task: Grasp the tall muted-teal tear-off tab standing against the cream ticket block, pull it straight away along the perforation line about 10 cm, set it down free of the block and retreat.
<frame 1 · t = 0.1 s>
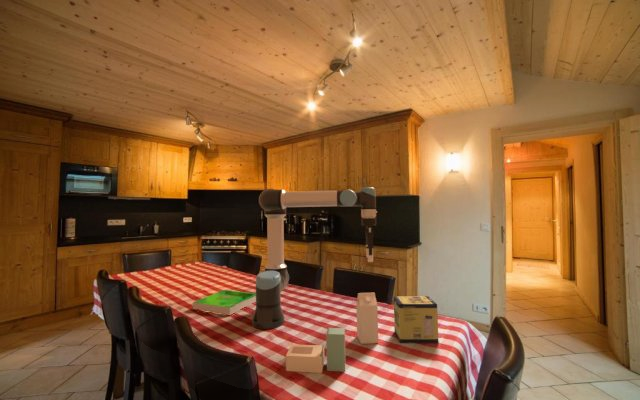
hand: (369, 259, 143), 28 cm above the table, fingers open, 13 cm apart
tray: (227, 307, 160), on the table
milk carton: (367, 340, 115), on the table
protein box: (415, 337, 117), on the table
ticket block: (305, 365, 97), on the table
stub: (336, 366, 96), on the table
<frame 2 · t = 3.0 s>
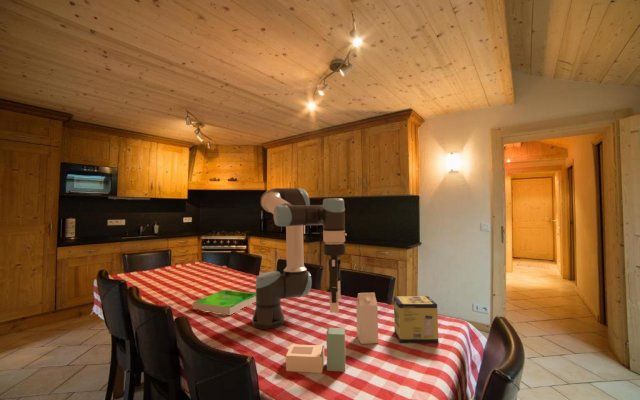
hand: (335, 305, 96), 21 cm above the table, fingers open, 13 cm apart
nothing on the table moved.
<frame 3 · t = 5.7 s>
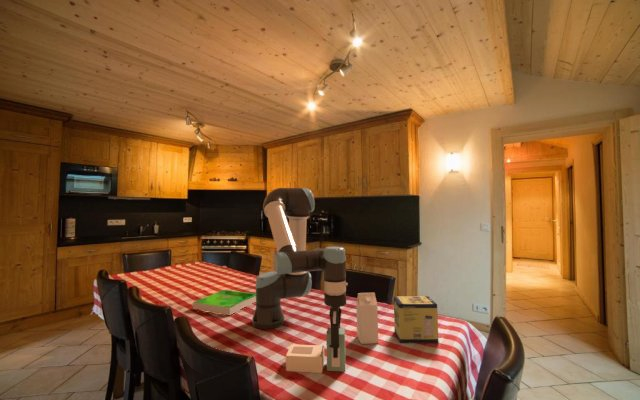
hand: (336, 361, 96), 2 cm above the table, fingers closed on stub, 5 cm apart
stub: (336, 366, 96), on the table, touching gripper
everything else where it was.
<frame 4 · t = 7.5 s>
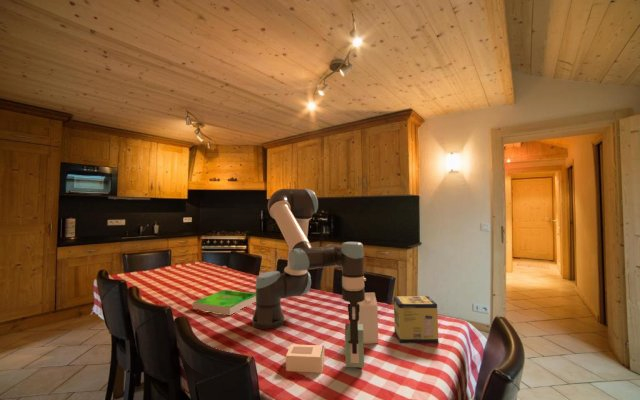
hand: (354, 357, 95), 3 cm above the table, fingers closed on stub, 5 cm apart
stub: (354, 362, 95), point 2 cm above the table, touching gripper
everything else where it was.
when the fingers open (2 cm above the table, at t = 9.5 s): stub stays where it is, on the table.
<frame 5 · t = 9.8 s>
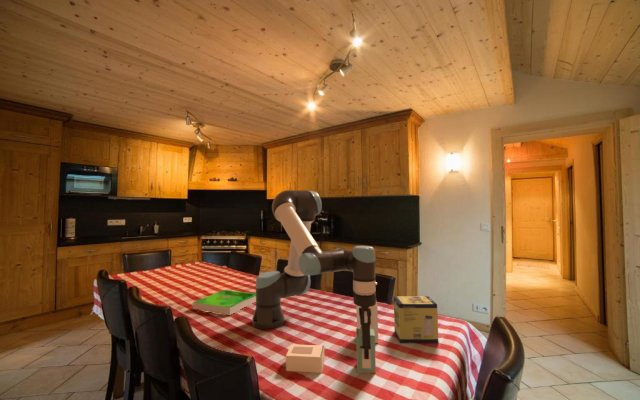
hand: (365, 360, 95), 3 cm above the table, fingers open, 8 cm apart
stub: (366, 368, 94), on the table
everything else where it was.
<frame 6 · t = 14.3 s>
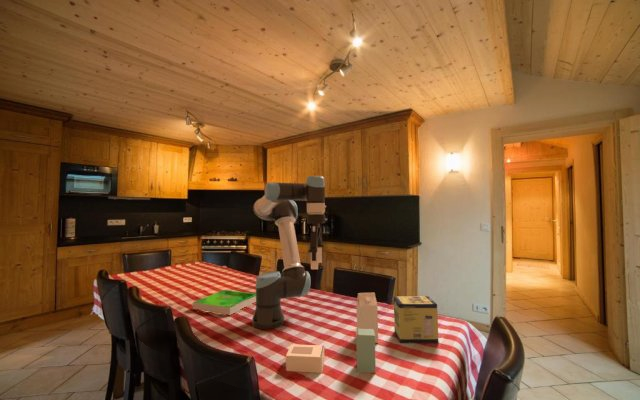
hand: (316, 265, 115), 31 cm above the table, fingers open, 13 cm apart
nothing on the table moved.
at the end: stub moved 10.0 cm from its start; stub inside the target area (0.5 cm from its centre), on the table; the gripper is holding nothing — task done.
